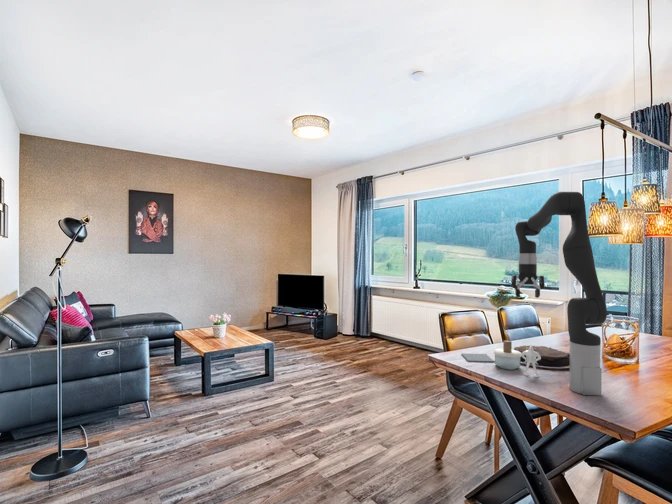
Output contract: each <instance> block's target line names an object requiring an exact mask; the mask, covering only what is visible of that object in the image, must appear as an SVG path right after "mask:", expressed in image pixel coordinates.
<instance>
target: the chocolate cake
mask: <svg viewBox="0 0 672 504" xmlns="http://www.w3.org/2000/svg"><path fill="white" fill-rule="evenodd" d="M530 346H532V347H533V350H534V351H535V352H537V353H538V354H539V355H540V356H541V359H540V360H538V361H536V362H537V364H536V363H535V366H536V369H540V370H541V369H544V370H545V369H546V370H550V371H555V370H558V369H559V370H560V371H566V370H569V360H570V352H566V351H563V350H562V351H561V350H558V349H557V348H552V347H551V346H550V347H548V346H544V345H541V346H540V345H537V346H536V345H521V346H515V347H514V348H513V350H516V351H519V352H521V353H523V352H524V351H526V350H529V347H530ZM524 357H525V358H526V355H524ZM537 358H538V357H536V359H537ZM526 359H527V358H526ZM536 359H535V360H536ZM525 361H526V360H525V359H524V358H523V357H522V356H521V357H520V366H521V365H522V366H525V367H526V365H527V362H525ZM524 362H525V363H524ZM529 368H533V365H532V363H530V365H529Z"/></svg>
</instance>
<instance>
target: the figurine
mask: <svg viewBox="0 0 672 504" xmlns="http://www.w3.org/2000/svg"><path fill="white" fill-rule="evenodd" d="M529 346H530V347H529V350H526V351H524V352H523V353H522V354H521V356H522V357H523V358H524V359H525V360H526V361H525V362H527V365H526V366H525V371H523V373H522V375H523V376H526V377H528V376H529V373H528V370H529V368H530V367H529V365H530V363H532V365H533V367H532V368H533V371H534V374H532V375H533V376H532V377H534V378H539V377H540V374H539V373H538V372H537V368H536V366H535V363H536V364H537V362H536V361H538V360H540V359H541V356H540V355H539V354H538V353H537V352H535V351H534V350H533V347H532V346H533V345H529ZM524 355H526V358H527V359H526V358H525V357H524ZM536 357H538V358H537V359H536ZM535 359H536V360H535ZM525 362H524V363H525Z"/></svg>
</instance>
